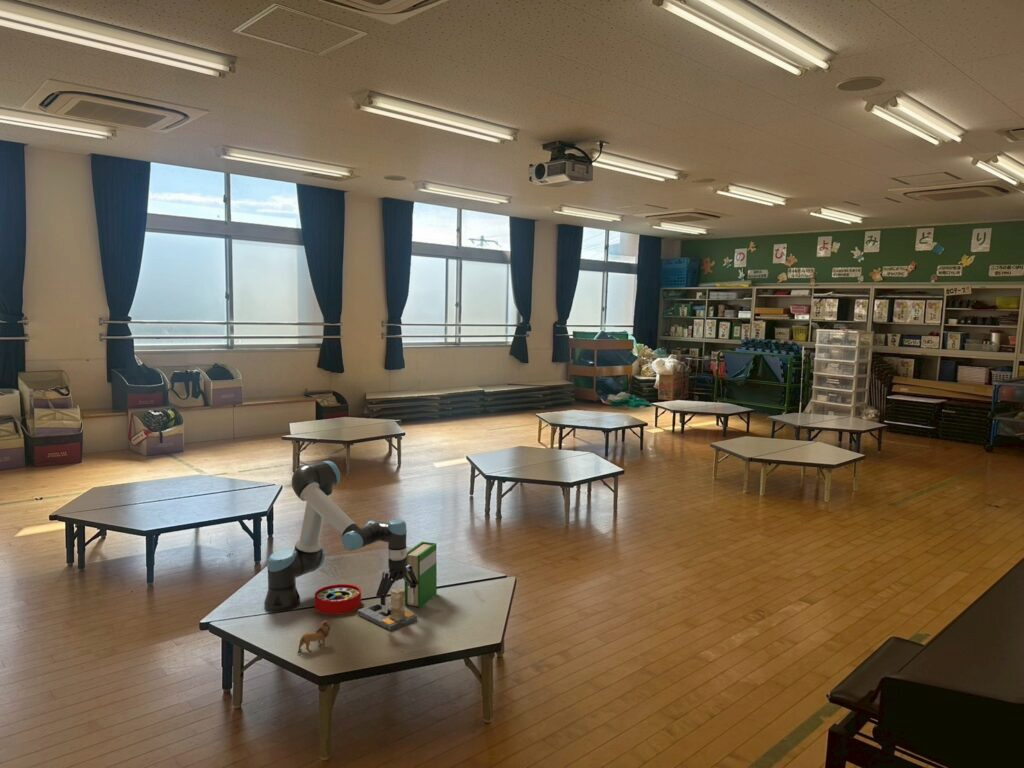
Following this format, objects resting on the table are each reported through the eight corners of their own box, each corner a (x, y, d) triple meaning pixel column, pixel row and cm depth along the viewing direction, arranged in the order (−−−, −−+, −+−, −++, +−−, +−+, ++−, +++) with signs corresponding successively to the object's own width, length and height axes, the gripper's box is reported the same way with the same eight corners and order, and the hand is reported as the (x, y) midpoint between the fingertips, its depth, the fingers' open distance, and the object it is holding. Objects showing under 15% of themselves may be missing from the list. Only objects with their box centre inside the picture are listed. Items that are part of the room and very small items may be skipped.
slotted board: (390, 631, 281) (390, 625, 280) (357, 614, 296) (357, 609, 296) (417, 620, 291) (417, 615, 291) (384, 604, 306) (383, 599, 306)
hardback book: (419, 608, 303) (419, 555, 301) (404, 606, 305) (404, 553, 303) (436, 593, 320) (436, 543, 317) (422, 591, 322) (421, 541, 320)
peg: (397, 625, 286) (396, 593, 284) (391, 622, 288) (390, 590, 287) (404, 622, 289) (404, 590, 287) (398, 619, 291) (398, 587, 290)
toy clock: (370, 588, 311) (340, 605, 293) (370, 601, 311) (341, 618, 293) (335, 581, 319) (304, 596, 301) (335, 593, 320) (305, 609, 302)
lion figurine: (326, 639, 273) (325, 617, 272) (334, 643, 270) (334, 621, 269) (293, 652, 262) (293, 630, 261) (301, 657, 259) (301, 634, 258)
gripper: (378, 567, 274) (378, 619, 276) (426, 552, 293) (426, 600, 295) (367, 563, 279) (367, 613, 281) (415, 548, 298) (415, 596, 300)
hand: (397, 607), depth 288 cm, fingers open, 13 cm apart
